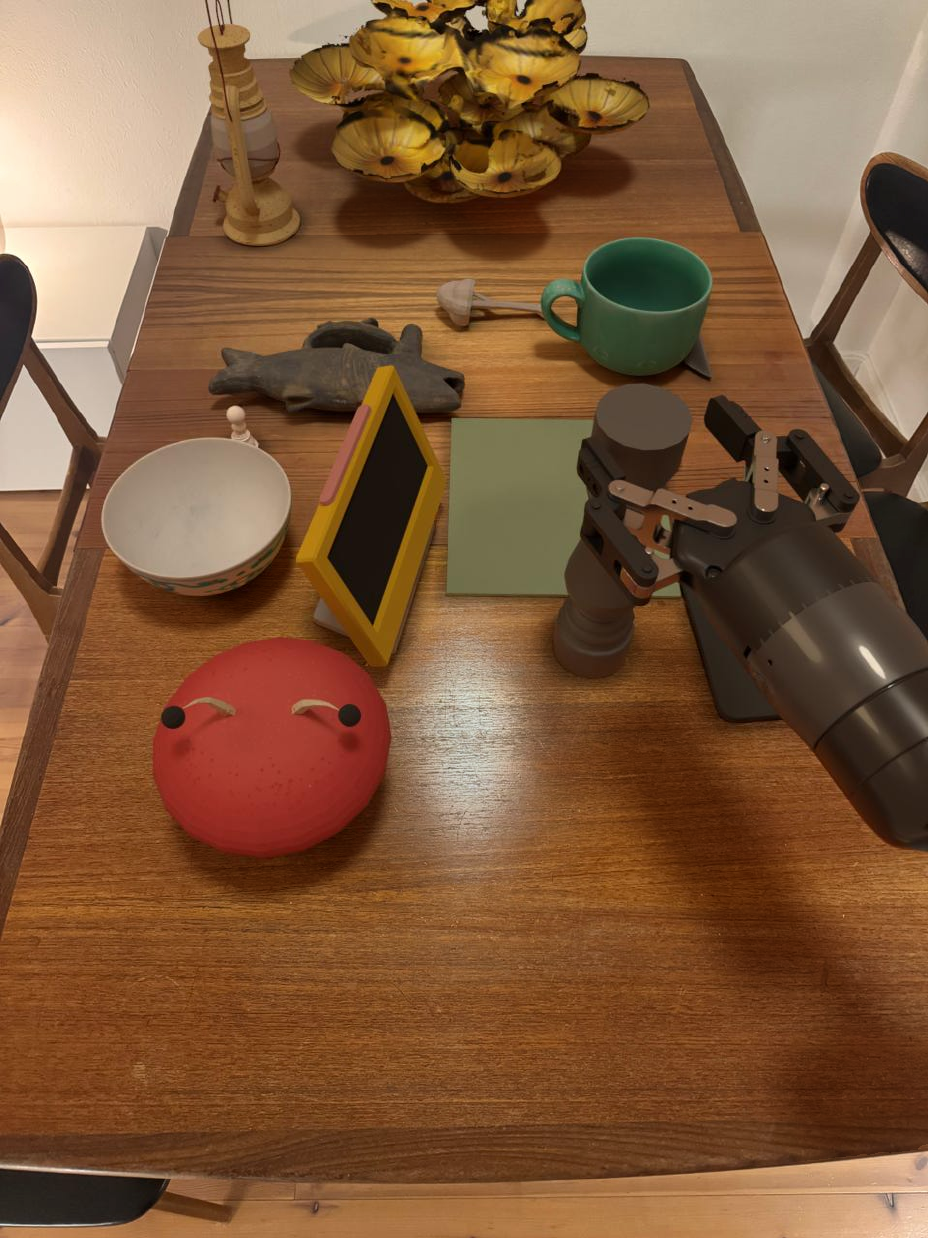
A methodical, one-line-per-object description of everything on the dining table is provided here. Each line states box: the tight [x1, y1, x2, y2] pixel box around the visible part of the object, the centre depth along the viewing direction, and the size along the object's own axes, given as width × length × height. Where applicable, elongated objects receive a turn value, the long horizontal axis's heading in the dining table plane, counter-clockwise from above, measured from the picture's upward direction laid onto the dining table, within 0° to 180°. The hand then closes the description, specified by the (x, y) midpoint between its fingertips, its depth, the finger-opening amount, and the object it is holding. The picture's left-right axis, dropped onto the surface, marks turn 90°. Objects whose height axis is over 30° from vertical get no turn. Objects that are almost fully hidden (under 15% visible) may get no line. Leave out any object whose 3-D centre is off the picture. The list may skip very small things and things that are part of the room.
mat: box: [445, 417, 682, 600], centre depth 80 cm, size 20×22×1 cm
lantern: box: [197, 0, 301, 247], centre depth 94 cm, size 12×10×30 cm
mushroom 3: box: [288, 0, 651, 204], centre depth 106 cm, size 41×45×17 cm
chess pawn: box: [225, 405, 259, 448], centre depth 82 cm, size 3×3×5 cm
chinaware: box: [100, 437, 293, 597], centre depth 73 cm, size 15×15×8 cm
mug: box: [540, 236, 714, 377], centre depth 89 cm, size 17×13×10 cm
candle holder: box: [552, 383, 694, 680], centre depth 61 cm, size 6×6×25 cm
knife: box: [682, 331, 713, 379], centre depth 94 cm, size 14×4×1 cm, turn 1°
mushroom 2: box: [152, 636, 393, 859], centre depth 58 cm, size 16×16×15 cm
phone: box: [680, 584, 782, 723], centre depth 72 cm, size 7×1×15 cm
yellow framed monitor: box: [295, 365, 448, 668], centre depth 69 cm, size 20×8×16 cm, turn 167°
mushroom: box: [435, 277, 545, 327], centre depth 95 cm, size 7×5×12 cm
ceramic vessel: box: [207, 317, 466, 414], centre depth 88 cm, size 5×25×15 cm
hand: (649, 427), depth 51 cm, fingers open, 8 cm apart
